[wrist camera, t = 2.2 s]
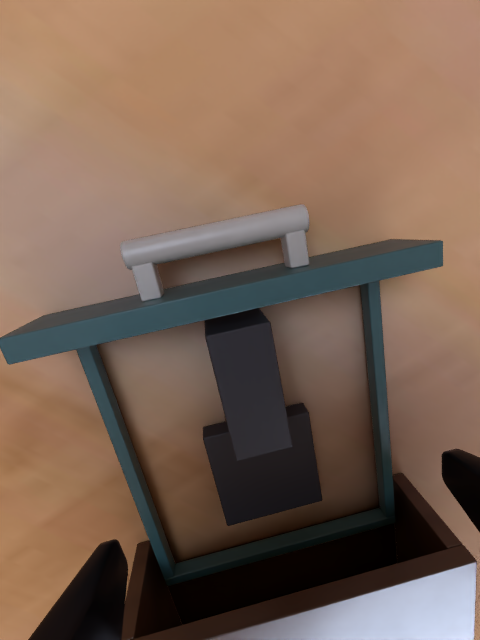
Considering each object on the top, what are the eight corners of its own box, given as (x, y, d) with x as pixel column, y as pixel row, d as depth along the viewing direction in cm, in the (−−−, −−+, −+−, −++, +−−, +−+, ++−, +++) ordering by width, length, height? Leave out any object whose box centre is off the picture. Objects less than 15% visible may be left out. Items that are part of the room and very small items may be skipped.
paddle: (285, 297, 15) (307, 312, 12) (316, 487, 19) (339, 537, 15) (173, 322, 15) (166, 345, 12) (226, 511, 18) (230, 567, 15)
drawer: (21, 263, 13) (-36, 272, 10) (388, 187, 14) (443, 173, 11) (148, 578, 19) (138, 648, 15) (406, 507, 20) (445, 559, 16)
